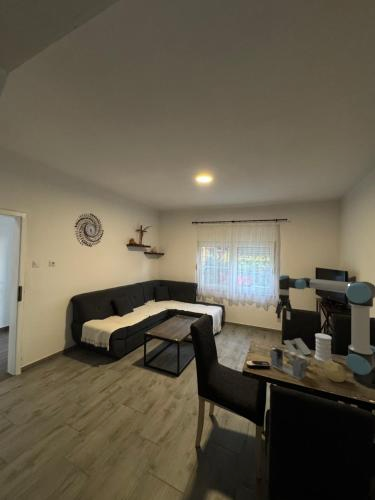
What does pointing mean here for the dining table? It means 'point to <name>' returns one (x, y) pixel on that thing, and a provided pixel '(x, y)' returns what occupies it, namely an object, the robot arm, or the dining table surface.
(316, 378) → the dining table surface
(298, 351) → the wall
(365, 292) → the robot arm
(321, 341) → the decorative container
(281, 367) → the bracket stand
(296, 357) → the rail
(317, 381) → the dining table surface
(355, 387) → the dining table surface
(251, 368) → the dining table surface
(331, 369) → the pale yellow round lump
